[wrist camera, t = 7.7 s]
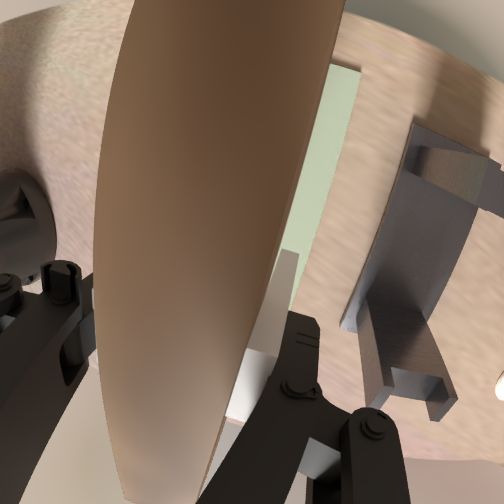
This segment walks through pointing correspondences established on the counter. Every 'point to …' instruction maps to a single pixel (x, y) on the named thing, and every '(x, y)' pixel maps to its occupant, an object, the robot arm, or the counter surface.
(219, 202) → the rail
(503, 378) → the candle
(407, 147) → the rack
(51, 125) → the counter surface
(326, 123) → the mat
